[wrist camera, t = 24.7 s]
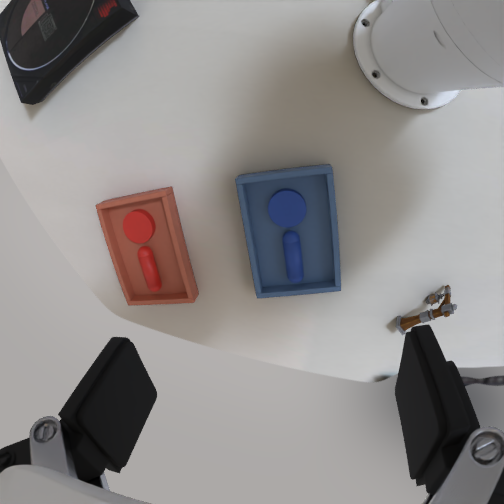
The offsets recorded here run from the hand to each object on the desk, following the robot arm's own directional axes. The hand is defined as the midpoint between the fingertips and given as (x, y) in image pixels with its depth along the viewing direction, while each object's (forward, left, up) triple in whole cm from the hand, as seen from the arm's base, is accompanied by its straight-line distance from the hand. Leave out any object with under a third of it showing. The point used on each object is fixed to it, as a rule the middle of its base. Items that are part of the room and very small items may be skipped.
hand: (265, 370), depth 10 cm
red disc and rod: (+3, -16, -23) cm, 29 cm away
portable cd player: (-28, -23, -24) cm, 44 cm away
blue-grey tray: (+4, 0, -24) cm, 24 cm away
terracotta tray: (+4, -16, -24) cm, 29 cm away
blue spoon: (+4, 0, -23) cm, 24 cm away
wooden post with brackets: (+15, +15, -24) cm, 32 cm away
